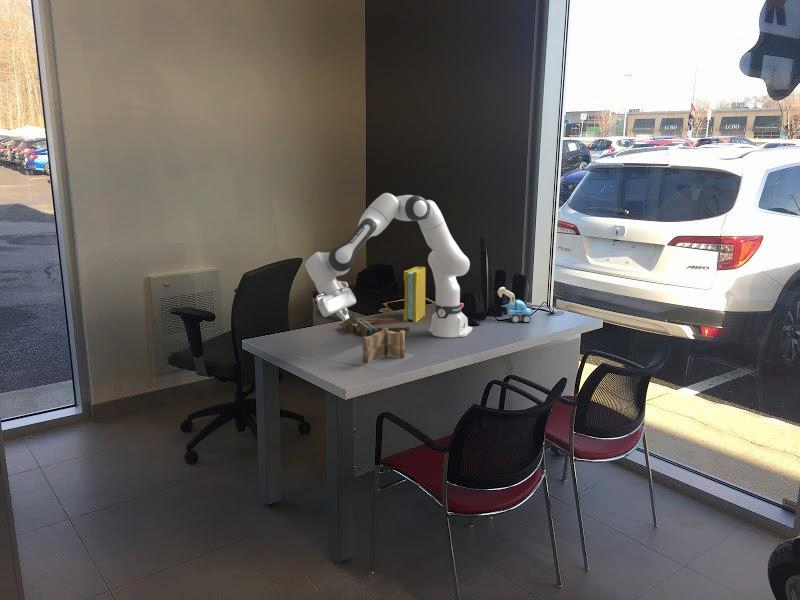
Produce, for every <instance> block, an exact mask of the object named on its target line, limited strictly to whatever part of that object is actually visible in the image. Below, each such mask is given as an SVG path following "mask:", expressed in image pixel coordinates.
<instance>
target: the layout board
mask: <svg viewBox="0 0 800 600" xmlns="http://www.w3.org/2000/svg"><path fill="white" fill-rule="evenodd" d="M415 356H416V354H411V353H406V352H405V358H400V357H395V356H389V355H383V356H381V357H379V358H377V359H375V360H373V361H371V362H369V363H367V364H366V363H363V344H362V345H360V344H358V345H356V346H354V347H352V348H349V349H347V350H344V351H342V352H340V353H337V354H335V355H332V356H330V357H327V358H325V360H327V361H332V362H337V363H342V364H347V365H352V366H358V367H363V368H367V369H374V370H378V371H382V372H384V371H387V370H388V369H389V370H390V369H391V368H393V367H395V366H397V365H399V364H402V363H403V362H405V361H407V360H409V359H411V358H413V357H415Z"/></svg>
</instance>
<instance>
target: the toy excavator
mask: <svg viewBox="0 0 800 600" xmlns="http://www.w3.org/2000/svg"><path fill="white" fill-rule="evenodd" d="M497 295H498V296H499V298H502V297H503V295H505V296H506V297H508V298H509V303H508V307H507V312H508V316H509V319H510V318H511V319H510V320H511V322H512V323H514V322H517V323H519V322H523V323H524V322H529V323H530V322H531V316H530V314H531V313H532V309H531V308H529V307H527V305H526V304H525V302H524V301H522V300H520V299H516V298H515V297H516V296H515V294H514V293H513V292H511V291H510V290H507V289H506V287H504V286H501V287H499V288H498V289H497Z"/></svg>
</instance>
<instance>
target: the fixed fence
mask: <svg viewBox="0 0 800 600" xmlns="http://www.w3.org/2000/svg"><path fill="white" fill-rule="evenodd" d="M382 330H383V331H385V355H389V356H395V357H400V358H405V353H406V352H405V351H406V350H405V349H406V348H405V345H406V343H405V340H406V337H405V336H406V335H405V334H406V332H405V331H400V332H391V331H388V328H382Z"/></svg>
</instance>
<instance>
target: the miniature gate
mask: <svg viewBox="0 0 800 600" xmlns="http://www.w3.org/2000/svg"><path fill="white" fill-rule="evenodd" d="M348 315H349V317H350V319H348V320H346V321H342V323H339V326H341V327H342V328H343V329H344V330H345V331H346V330H347V332H348V333H349V334H351V335H352V334H353V332H354V331H353V330H355V331H357V333H358V332H359V333H358V334H360V335H361V336H362V337H367V334H375V333H377V332H380V331H382V328H388V331H391V332H398V333H400V331H406V332H409V331H410V327H409V326H395V327H394V326H393V327H392V326H390V327H388V326H387V327H383V326H382V327H377V326H373V325H382V324H383V325H385V323H386V324H394V323H396V322H397V319H396V318H355V317H354V316H353V315H351V314H349V313H348Z"/></svg>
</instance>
